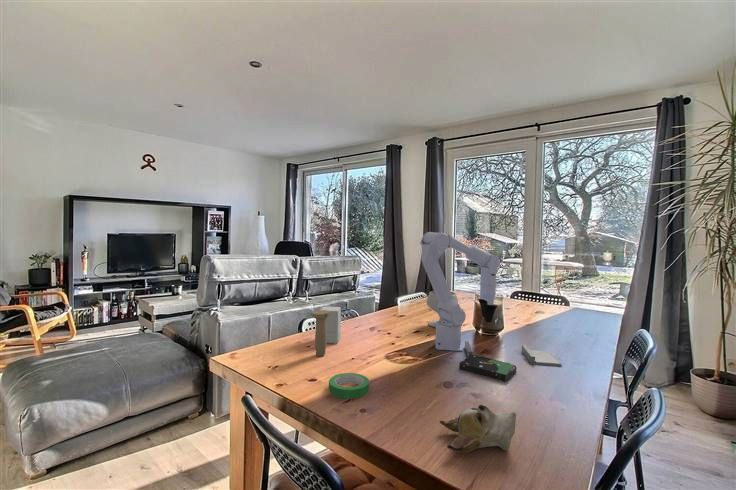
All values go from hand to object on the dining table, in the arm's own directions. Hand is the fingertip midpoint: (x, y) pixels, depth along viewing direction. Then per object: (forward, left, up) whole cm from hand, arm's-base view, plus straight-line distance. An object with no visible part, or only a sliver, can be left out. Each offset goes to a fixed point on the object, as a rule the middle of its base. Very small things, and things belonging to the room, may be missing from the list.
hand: (486, 319), depth 139 cm
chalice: (-16, +22, -10) cm, 29 cm away
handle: (-59, -26, -10) cm, 65 cm away
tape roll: (-44, -49, -10) cm, 67 cm away
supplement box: (-60, -10, -10) cm, 62 cm away
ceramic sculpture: (-12, -68, -10) cm, 70 cm away
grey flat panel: (+6, -13, -9) cm, 17 cm away
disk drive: (-4, -28, -10) cm, 30 cm away
